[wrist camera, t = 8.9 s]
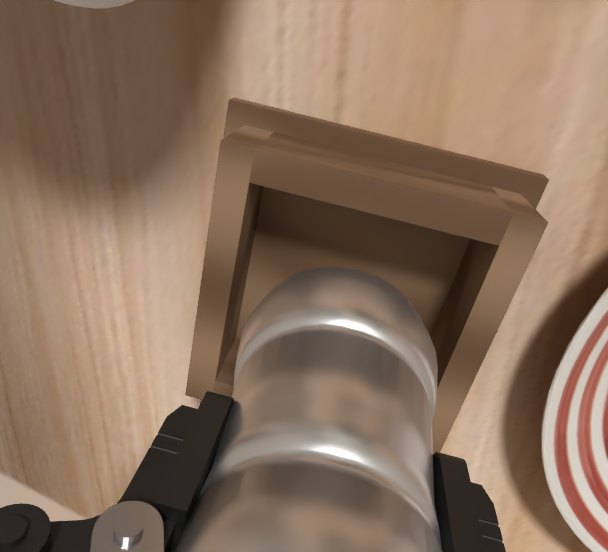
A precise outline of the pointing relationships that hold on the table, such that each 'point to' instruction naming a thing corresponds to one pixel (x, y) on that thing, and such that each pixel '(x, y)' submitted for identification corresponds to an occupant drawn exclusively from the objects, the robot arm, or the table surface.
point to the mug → (95, 3)
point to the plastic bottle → (326, 426)
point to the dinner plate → (580, 431)
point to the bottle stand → (362, 236)
